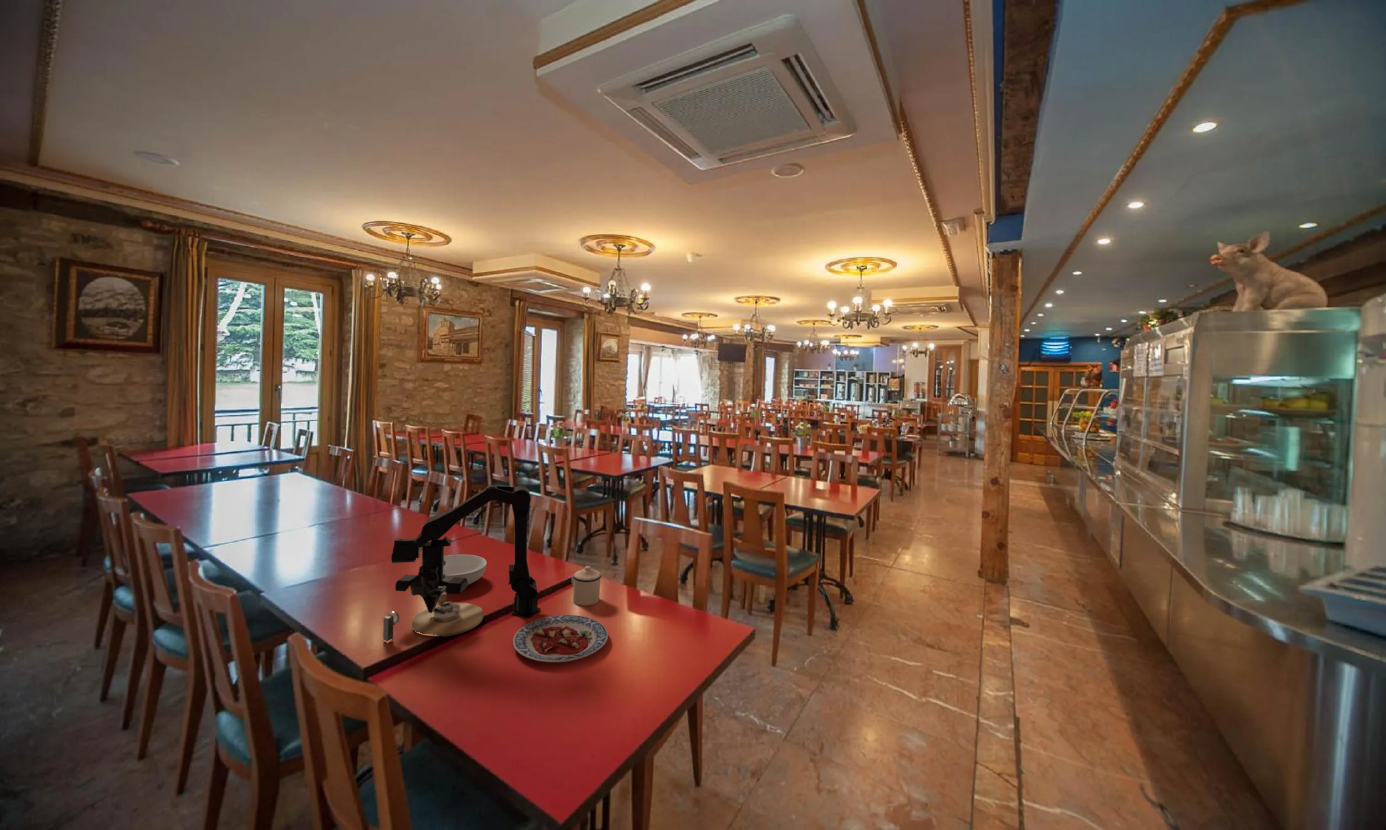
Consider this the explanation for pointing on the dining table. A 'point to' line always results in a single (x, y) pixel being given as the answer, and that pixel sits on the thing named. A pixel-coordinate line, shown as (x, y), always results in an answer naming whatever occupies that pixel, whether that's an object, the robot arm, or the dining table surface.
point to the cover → (446, 612)
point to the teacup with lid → (586, 586)
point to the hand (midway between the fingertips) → (431, 612)
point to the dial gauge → (390, 625)
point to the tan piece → (465, 622)
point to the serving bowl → (464, 567)
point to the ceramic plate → (560, 638)
